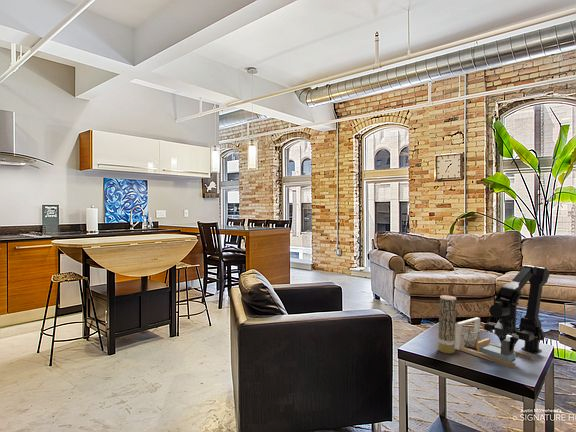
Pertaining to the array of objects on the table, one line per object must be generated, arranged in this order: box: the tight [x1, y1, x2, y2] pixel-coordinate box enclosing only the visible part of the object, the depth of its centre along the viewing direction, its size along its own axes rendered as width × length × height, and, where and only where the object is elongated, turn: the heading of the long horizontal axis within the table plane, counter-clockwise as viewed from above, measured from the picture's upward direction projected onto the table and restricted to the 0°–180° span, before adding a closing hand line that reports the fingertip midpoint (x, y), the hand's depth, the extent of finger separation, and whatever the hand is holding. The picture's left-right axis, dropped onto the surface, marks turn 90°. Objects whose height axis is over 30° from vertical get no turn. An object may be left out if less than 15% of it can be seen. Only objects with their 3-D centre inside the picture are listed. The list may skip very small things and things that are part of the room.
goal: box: [454, 316, 481, 351], centre depth 180 cm, size 18×2×12 cm, turn 126°
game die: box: [462, 328, 482, 351], centre depth 178 cm, size 9×8×10 cm
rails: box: [460, 342, 534, 369], centre depth 169 cm, size 18×23×2 cm
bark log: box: [437, 294, 457, 355], centre depth 172 cm, size 7×7×25 cm
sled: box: [476, 337, 517, 362], centre depth 169 cm, size 10×13×8 cm
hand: (507, 350), depth 166 cm, fingers open, 2 cm apart
